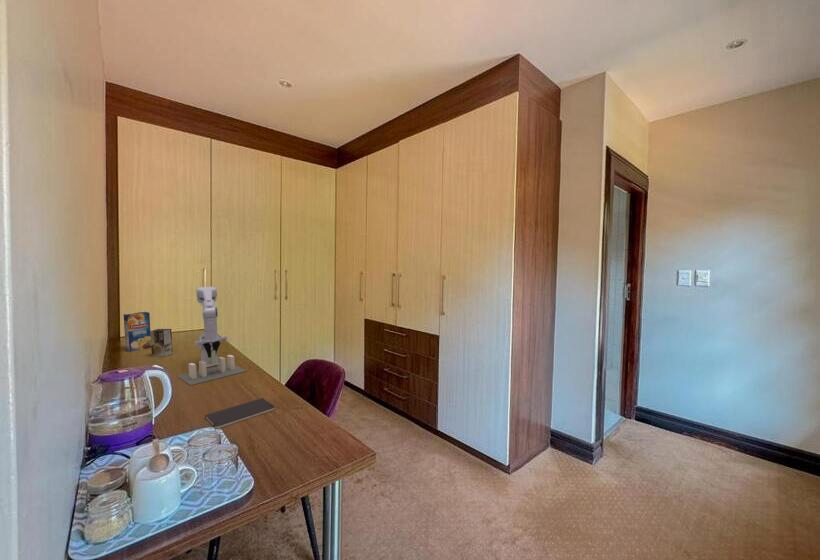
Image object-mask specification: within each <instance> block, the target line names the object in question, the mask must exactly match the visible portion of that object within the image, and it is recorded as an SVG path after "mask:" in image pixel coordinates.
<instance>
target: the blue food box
mask: <svg viewBox="0 0 820 560" xmlns="http://www.w3.org/2000/svg"><path fill="white" fill-rule="evenodd" d="M150 317H151V316H150V312H148V311H141V312H140V311H139V312H133V313H131V312H130V313H123V325H124V328H123V330H124V346H125V351H127V352H129V353H130V352H131V353H132V352H136V351H142V350H147V349H152V348H151V335H150V331H151V318H150Z"/></svg>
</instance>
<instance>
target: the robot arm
mask: <svg viewBox="0 0 820 560" xmlns="http://www.w3.org/2000/svg"><path fill="white" fill-rule="evenodd" d="M195 290H196V292H195V293H196V300H197V303H199V304H201V306H202V312H201V313H202V318H203V329H204V332H202V333H201V334H200V335H199V336H198V337H199V338H198V340H196V341H194V346H195V347H198V346H199V350H201V351H200V361H204V362H206V368H211V367H213V366H214V367H215V366H218V357H219V356H218V350H219V348H220V346H221V342H224V341H226V342H227V341H228V336H220V334H219V333H218V315H219V314H218V313H219V311H218V307H217V306H216V302H217V298H218V297H217V296H218V289H217V286H216V285H215V286H200V287H198V286H197V287H196V289H195ZM211 349H213V350H215V351H216V364H214V365H212V364H210V363H209V359H208V357H209V358H211Z"/></svg>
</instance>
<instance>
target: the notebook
mask: <svg viewBox="0 0 820 560" xmlns="http://www.w3.org/2000/svg"><path fill="white" fill-rule="evenodd" d="M275 409H276V406H275V405H274V404H272V403H271V402H269V401H268V400H266V399H264V398H263V397H261V398H257V399H253V400H252V401H251V400H250V401H248V402H245V403H242V404H238V405H237V404H236V405H235V406H230V407H227V408H224V409H220V410H217V411H214V412H210V413H208V414H205V415H204V418H206V420H207V421H208V422H209V423H210V425H212V426H213V428H215V429H221V428H225V427H227V426H230V425H233V424H237V423H239V422H242V421H245V420H248V419H251V418H254V417H257V416H261V415H263V414H266V413H269V412H273V411H274V410H275Z"/></svg>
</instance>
